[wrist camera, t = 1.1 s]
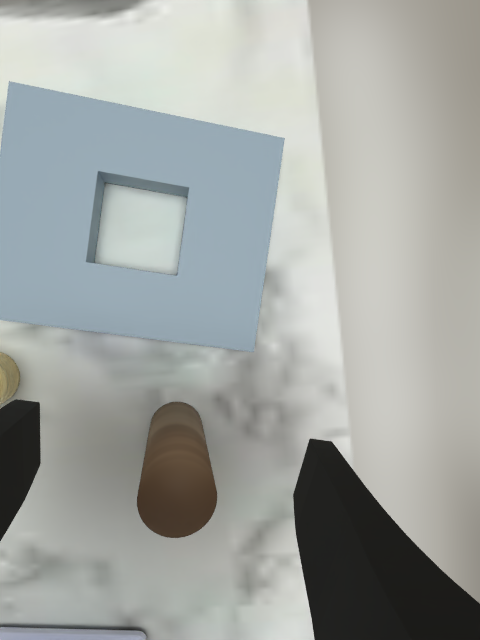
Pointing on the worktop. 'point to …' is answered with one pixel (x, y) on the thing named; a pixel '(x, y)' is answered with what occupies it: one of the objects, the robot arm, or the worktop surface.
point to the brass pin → (8, 377)
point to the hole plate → (144, 173)
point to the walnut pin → (176, 474)
